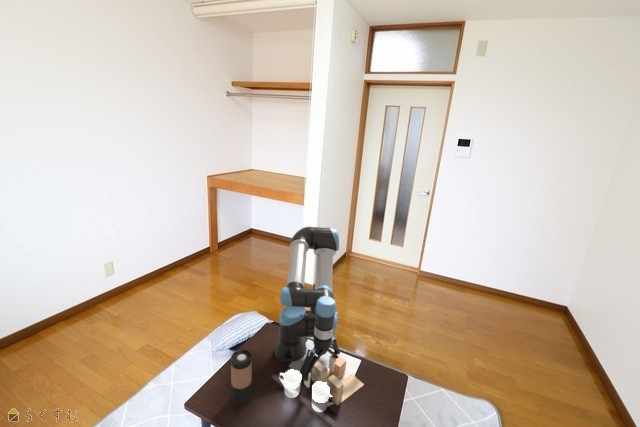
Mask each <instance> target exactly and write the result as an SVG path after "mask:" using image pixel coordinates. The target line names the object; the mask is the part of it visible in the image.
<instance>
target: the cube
mask: <svg viewBox="0 0 640 427" xmlns="http://www.w3.org/2000/svg"><path fill="white" fill-rule="evenodd" d="M337 356H338V358H337V359H336V362H335V366H334V371H333V373H335V374H336V375H338V376H340V375H341V374H342V373H343V372H344V370H345V368H346V367H347V360H346V359H344V358H343V357H342V356H340V355H337ZM346 369H347V368H346ZM330 371H331V370H330Z"/></svg>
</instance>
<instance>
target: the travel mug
mask: <svg viewBox="0 0 640 427" xmlns="http://www.w3.org/2000/svg"><path fill="white" fill-rule="evenodd" d="M252 360H253V359H252V352H251V351H249V350H247V349H242V350H239V351H238V350H236V351H234V352H233V353H232V354H231V357H230V385H231V386H230V387H231V401H232V403H233V404H234V406H237V407H241V406H246V405H247V404H248V403H249V402H250V400H251V397H252V380H253V379H252V378H253V376H252V374H253V373H252V372H253V371H252V370H253V366H252V364H253V363H252Z"/></svg>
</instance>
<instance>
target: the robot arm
mask: <svg viewBox="0 0 640 427" xmlns="http://www.w3.org/2000/svg"><path fill="white" fill-rule="evenodd" d="M289 249H290V260H289V266H288V273H287V274H288V275H287V282H286V286H285V287H284V286H283V287H281V290H280V298H279V299H280V300H279V303H280V305H282V306H283V307H284V308H282V310H281V311H280V314H279V318H278V322H279V326H278V331H279V332H278V339H277V342H276V343H275V346H274V355H275V358H276V359H277V360H278V361H279V362H281V363H282V364H285V363H287V362H291V363H293V362H297V361H300V360H301V359H303V358H304V357H305V358H304V360H303V363H302V365H301V368H300V369H299V374H301V375H302V377H303V378H302V379H303V385H304V386H306V388H308V389H309V388H310V385H311V377H312V373H311V371H312V369H313V367H314V365H315V363H316V362H317V361H319V360H320V359H321V358H322V356H323V355H326V354H327V353H329V357H328V367H327V368H329V369H330V370H331V371H332V372H333V371H334V366H335V362H336V359H337V358H338V356H340V354H341V351H340V348H339V346H338V344H337V339H336V338H335V335H336V332H337V327H338V318H339V313H338V312H337V311H336V310H337V308H336V305H337V304H336V302H337V301H336V300H335V299H334V294H333V272H334V271H333V268H334V264H333V263H334V256H335V255H336V254H337V252H338V251H339V250H340V237H339V232H338V230H337V229H336V228H334V227H333V228H331V227H320V226H319V227H318V226H317V227H316V226H305V227H302V228H300V229H298V230H297V231H296V233H295V234H294V235H293V236H292V237H291V240H290V243H289ZM310 249H311V250H313V254H314V255H315V256H316V257H315V276H314V277H315V278H314V288H305V280H306V267H307V266H306V265H307V254H308V253H307V252H308V251H309V250H310ZM306 308H309V310H306ZM305 338H312V339H313V341H312V342H313V348H312V349H307V344H306V340H305ZM331 346H332V349H333V350H332V349H330V347H331ZM305 355H306V356H305ZM337 355H338V356H337Z"/></svg>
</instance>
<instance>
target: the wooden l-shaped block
mask: <svg viewBox="0 0 640 427" xmlns="http://www.w3.org/2000/svg"><path fill="white" fill-rule="evenodd" d="M327 385H328V386H329V387H330V394H331V395H332V396H333V397H331V398H329V399H330V400H331V401H332V402H333V403H334V404H335V405H336V406H339V405H340V404H341V403H342V402H344V401H345V400H346V399H348V398H349V397H350V396H352V395H353V394H354V393H355V392H357V391H358V390H360V388H362V387H364V385H365V384H364V383H363V382H362V381H361V380H360V379H358V378H357V377H356V376H355V375H354V374H352V373H351V374H350V375H348V376H347V377H346V378H344V379H343V380H341V381H340V379H339V378H338V379H337V378H336V377H335V376H334V375H332V376H330V377H329V378H328V379H327Z"/></svg>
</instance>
